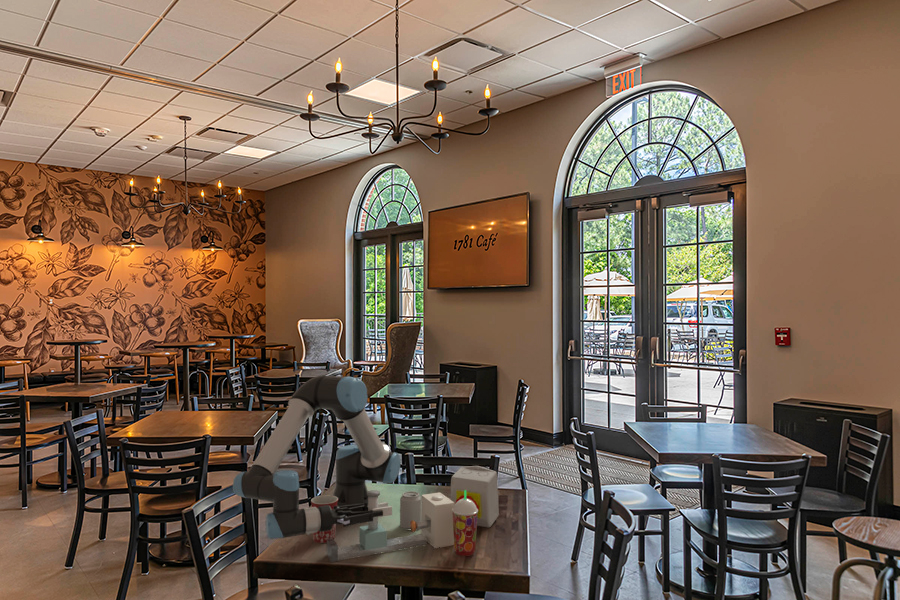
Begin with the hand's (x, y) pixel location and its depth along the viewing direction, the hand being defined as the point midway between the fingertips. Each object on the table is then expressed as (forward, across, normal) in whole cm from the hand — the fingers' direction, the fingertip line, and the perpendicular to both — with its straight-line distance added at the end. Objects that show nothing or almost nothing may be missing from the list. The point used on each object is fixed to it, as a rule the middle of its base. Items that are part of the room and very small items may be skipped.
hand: (389, 508), depth 195 cm
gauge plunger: (+12, 0, -9) cm, 15 cm away
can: (+13, -15, -13) cm, 24 cm away
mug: (-17, -18, -13) cm, 28 cm away
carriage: (-6, 0, -11) cm, 12 cm away
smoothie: (+21, +13, -13) cm, 28 cm away
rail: (-4, 0, -13) cm, 14 cm away
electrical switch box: (+35, -9, -14) cm, 39 cm away
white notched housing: (+17, 0, -13) cm, 22 cm away
